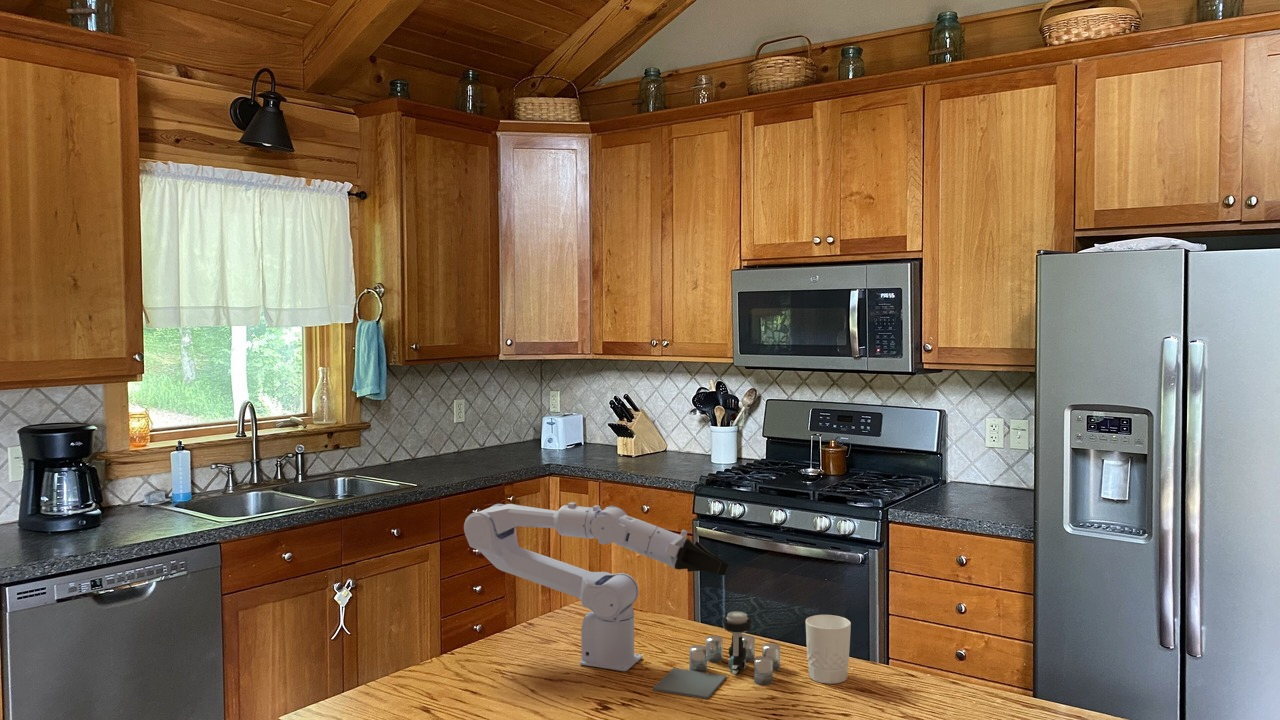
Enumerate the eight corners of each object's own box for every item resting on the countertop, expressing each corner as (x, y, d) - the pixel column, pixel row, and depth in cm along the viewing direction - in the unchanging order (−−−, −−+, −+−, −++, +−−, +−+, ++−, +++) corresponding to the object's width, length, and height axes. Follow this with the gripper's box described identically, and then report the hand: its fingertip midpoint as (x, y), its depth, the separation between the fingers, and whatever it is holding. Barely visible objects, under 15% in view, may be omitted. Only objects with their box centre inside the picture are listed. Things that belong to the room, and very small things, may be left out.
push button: (748, 678, 169) (748, 622, 168) (718, 675, 170) (718, 620, 170) (753, 664, 175) (753, 611, 175) (725, 662, 177) (725, 608, 176)
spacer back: (735, 660, 178) (735, 639, 177) (740, 655, 180) (740, 634, 180) (752, 663, 176) (752, 641, 176) (756, 657, 179) (756, 636, 179)
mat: (652, 690, 164) (652, 687, 164) (673, 670, 173) (673, 667, 173) (707, 699, 160) (707, 696, 160) (726, 678, 169) (726, 675, 169)
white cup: (796, 677, 169) (796, 622, 169) (820, 665, 175) (821, 611, 174) (835, 689, 164) (835, 632, 163) (858, 676, 170) (859, 621, 169)
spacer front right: (751, 683, 166) (751, 661, 166) (757, 677, 169) (757, 655, 169) (769, 686, 165) (769, 663, 165) (774, 679, 168) (774, 657, 168)
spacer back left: (703, 661, 177) (703, 639, 177) (708, 655, 180) (708, 634, 180) (719, 663, 176) (719, 642, 176) (724, 657, 179) (724, 636, 179)
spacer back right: (760, 669, 173) (760, 647, 173) (765, 663, 176) (765, 642, 176) (777, 672, 172) (777, 650, 172) (782, 665, 175) (782, 644, 175)
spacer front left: (686, 671, 172) (686, 649, 172) (692, 665, 175) (692, 644, 175) (703, 674, 171) (703, 652, 171) (709, 667, 174) (709, 646, 174)
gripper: (651, 517, 167) (723, 544, 163) (670, 524, 180) (737, 550, 176) (637, 555, 166) (709, 584, 162) (657, 560, 179) (724, 586, 175)
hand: (723, 569), depth 169 cm, fingers open, 7 cm apart
